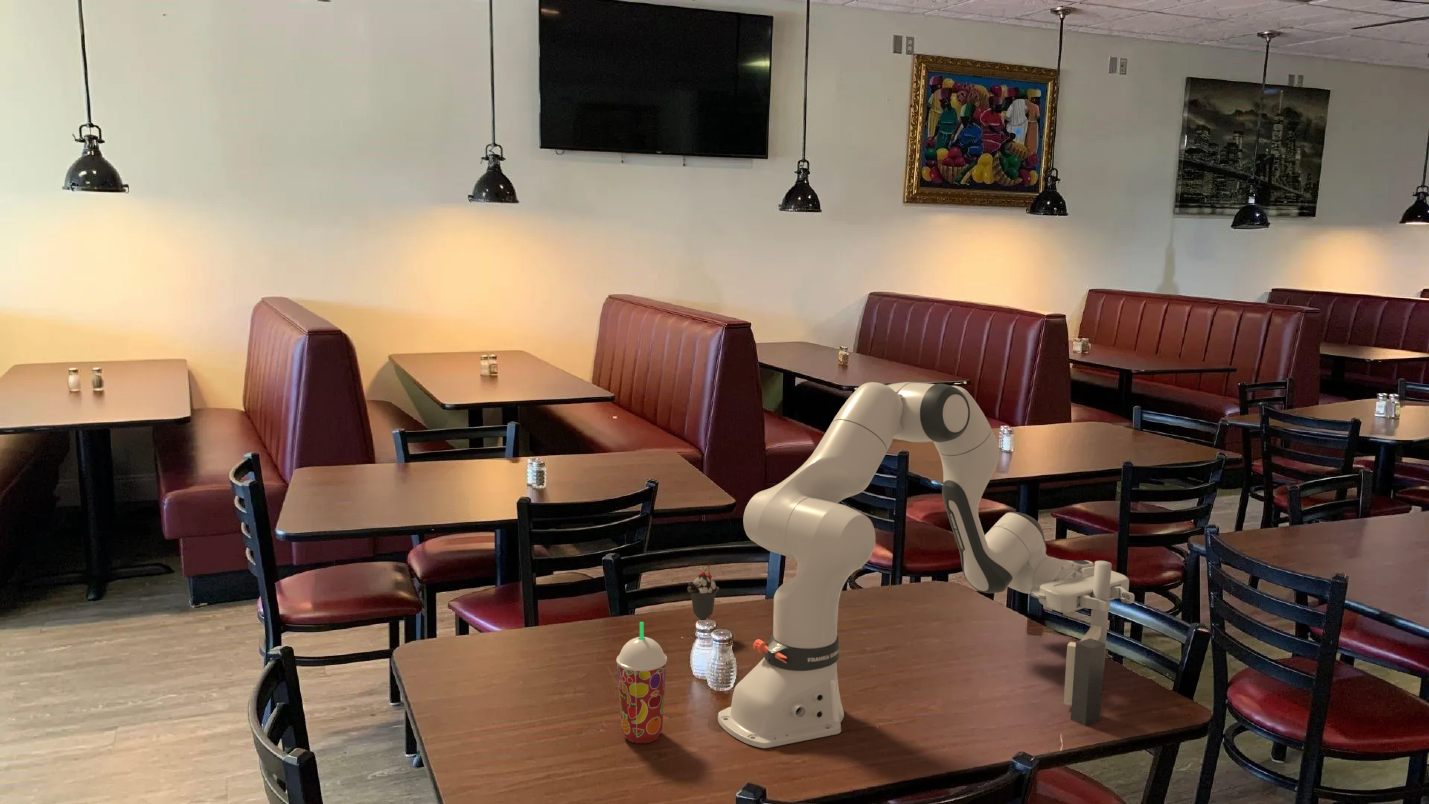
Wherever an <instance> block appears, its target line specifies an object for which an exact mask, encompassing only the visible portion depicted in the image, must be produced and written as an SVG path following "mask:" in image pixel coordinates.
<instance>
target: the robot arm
mask: <svg viewBox="0 0 1429 804" xmlns="http://www.w3.org/2000/svg"><path fill="white" fill-rule="evenodd" d="M893 440H900V441H905V442H906V441H907V442H911V443H929V442H930V443H933V444H934V446H935V448H936V450H937V452H938V454H939V455H938V456H939V457H940V460H941V465H942V473H943V475H942V476H943V480H942V481H943V482H942V483H943V484H942V488H941V495H942V501H943V504H944V507H945V510H946V513H947V517H948V519H949V523H950V526H951V527H950V528H951V529H952V533H953V537H954V539H955V542H956V545H957V548H958V550H959V551H958V553H959V555H960V556H959V557H960V563H961V564H960V565H961V569H962V574H963V576H964V578H965V580H966V582H968V583H969V585H970V586H971V587H972V588H974V589H975V590H976V591H977V592H981V593H986V594H999V593H1003V592H1004V591H1005V590H1006V589H1007V588H1010V589H1013V590H1015V591H1017V592H1020V593H1023V594H1030V596H1031V597H1032V598H1036V599H1038V602H1039V603H1040V604H1041V605H1043V606H1045V607H1047V608H1048V609H1051V610H1053V611H1055V612H1058V613H1064V614H1068V613H1069V614H1070V613H1072V612H1075V611H1078V610H1082V609H1091V610H1092V609H1098V610H1101V611H1107V610H1108V611H1109V610H1110V609H1111V607H1110V606H1111V601H1112V600H1115V599H1120V601H1121V603H1124V604H1127V605H1128V604H1132V603H1134V602H1135V594H1134V593H1133V592H1129V587H1130V579H1129V578H1128V576H1126V575H1125V574H1123V573H1120V572H1116V571H1113V570H1112V569H1111V580H1110V594H1109V601H1108V600H1105V599H1096V598H1092V596H1093V582H1094V567H1095V562H1093V561H1090V560H1086V559H1085V560H1069V559H1068V560H1067V559H1061V558H1056V557H1054V556H1049V555H1047V553H1046V552H1047V544H1046V543H1047V542H1046V539H1045V538H1046V537H1045V533H1044V530H1043V528H1042V526H1041V525H1040V524H1041V523H1040V522H1038V521H1037V520H1036V519H1035V518H1033V517H1032V516H1030V515H1028V514H1025V513H1022V512H1017V511H1009V512H1005V514H1004V515H1002V517H1000V518H999V519H998V520H997V522H995V524H994V525H993V526H992V527H991V528H990V529H989V530H988V531H987V532H986V533H985V532H984V530H983V527H982V524H981V519H980V517H979V507H980V503H981V500H982V496H983V494H984V492H985V490H986V488H987V486H988V484H989V483H990V481H991V479H992V477H993V475H994V473H995V472H996V471H997V468H998V464H999V460H1000V447H999V443H998V440H997V437H996V435H995V433H994V431H993V429H992V427H991V425H990V423H989V421H988V419H987V417H986V416H985V413H984V412H983V410H982V409H981V408H980V406H979V404H978V403H977V401H976V400H975V399H974V398H973V396H972V395H971V394H970V393H969V391H968V390H967V389H965V388H963V387H962V386H958V385H949V384H947V383H946V384H945V383H935V384H934V383H926V382H925V383H924V382H917V381H904V382H903V381H902V382H896V383H891V382H887V383H880V382H875V381H871V382H870V381H869V382H865V383H863V384H861V385H859V386H858V387H857V388H856V389H855V390H854V392H852V394H850V396H849V397H848V399H846V401H845V403H844V404H843V405H842V406H841V408H840V409H839V411H838V412H837V414H836V415H835V416H834V418H833V420H832V421H831V423H830V425H829V427H828V428H827V430H826V432H825V433H824V435H823V436H822V438H821V439H820V441H819V443H818V445H817V446H816V448H815V449H814V451H813V452H812V454H811V455H810V456H809V457H808V458H807V460H806V461H805V462H803V464H802V465H801V466H799V468H797V470H795V471H794V472H793V473H792V474H790V475H789V476H788V477H786V478H785V479H784V480H782V481H781V482H779V483H778V484H775V485H774V486H772V487H770V488H767V489H764V490H761V491H759V492H757V493H755V494H754V495H753V496H752V497H751V498H750V499H749V501H748V502H747V505H746V506H745V509H744V513H743V518H742V519H743V520H742V521H743V529H744V531H745V534H746V536H747V537H748V538H749V539H750V540H751V541H752V542H753V543H755V544H757V545H758V546H760V547H761V548H764V549H765V550H767V551H769V552H772V553H775V554H778V555H780V556H781V555H782V556H785V557H787V558H792V559H795V560H796V563H797V565H796V566H797V568H796V573H795V576H794V578H790V579H789V580H787V581H785V582H784V583H782V584H781V585H780V586H779V587H778V588H777V589H776V591H775V593H774V595H773V618H772V619H773V623H772V624H773V625H772V627H773V630H772V631H773V632H772V633H771V635H770V637H769V640H768V643H767V642H765V641H763V640H762V639H759V638H757V639H755V641H754V643H753V644H752V647H753V650H754V651H756V652H759V654H761V655H763V658H762V659H761V660H760V661H759V662H758V663H757V664H756V666H754V667H753V668H752V669H751V670H750V671H749V672H748V673H747V674H746V675H745V676H744V677H743V678H742V679H741V680H740V681H739V682H738V683H737V684H736V685H735V687H734V690H733V693H732V698H731V699H732V700H731V705H730V706H728V707H727V708H723V709H722V710H720V711H719V712H718V714H717V721H718V722H717V723H718V724H719V725H720V727H721V728H722V729H723V730H724V731H725V732H726V733H728V734H729V735H731V736H732V737H733V738H735V739H737V740H739V741H741V742H742V743H745V744H746V745H750V746H753V747H757V748H760V749H768V748H775V747H779V746H784V745H788V744H794V743H799V742H803V741H804V742H805V741H809V740H814V739H819V738H824V737H829V736H834V735H838V734H840V733H841V732H842V725H841V723H842V721H843V719H844V717H845V710H844V708H843V705H842V700H841V695H840V690H839V681H838V679H839V678H838V669H837V668H838V666H837V663H838V662H837V661H838V660H839V658H840V638H839V636H838V633H837V632H838V631H837V630H838V615H839V602H840V598H841V597H840V596H841V594H842V591H843V588H844V585H845V584H846V582H847V580H848V578H849V577H850V576H851V575H852V574H853V573H854V572H855V571H857V570H859V569H861V568H863V567H864V566H865V565H866V563H868V561H869V560H870V558H871V557H872V555H873V553H874V550H875V545H876V532H875V531H876V530H875V528H874V524H873V522H872V520H871V519H870V518H869V517H868V516H867V515H865V514H863V513H861V512H860V511H859V510H856V509H853V508H852V507H849V506H847V505H845V504H841V503H840V502H842V501H843V500H845V499H847V498H849V497H850V498H851V497H854V496H856V495H858V494H860V493H862V492H864V491H865V490H866V489H867V488H868V486H869V485H870V483H871V482H872V480H873V478H874V477H875V474H876V472H877V471H878V469H879V467H880V466H881V463H882V462H883V460H884V458H885V456H886V455H887V452H888V450H889V448H890V446H891V445H892V443H893Z"/></svg>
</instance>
